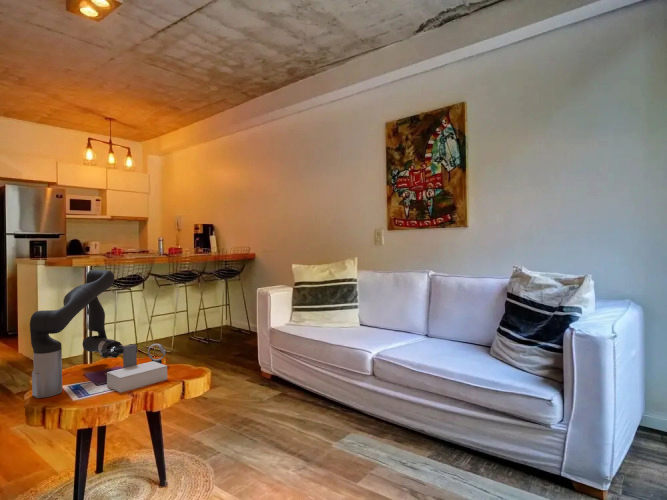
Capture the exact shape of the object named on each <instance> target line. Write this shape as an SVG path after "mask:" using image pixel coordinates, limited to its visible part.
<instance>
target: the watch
mask: <svg viewBox="0 0 667 500" xmlns="http://www.w3.org/2000/svg"><path fill="white" fill-rule="evenodd" d="M154 346H157V347H158V350H159V351H160V352H161V353H162V356H161V357H159V358H153V356H152V355H151V353H150V349H151V348H152V347H154ZM166 352H167V351H166V349H165V348H164V347H163V344H162V343H153V344H151V345H150V346H149V347H148V348H147V355H148V357H149V359H150V360H151V362H152V361H154V362H157V363H160V364H163V361H162V359H163V358H164V357H165V355H166Z"/></svg>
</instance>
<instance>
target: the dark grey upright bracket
mask: <svg viewBox="0 0 667 500" xmlns="http://www.w3.org/2000/svg"><path fill="white" fill-rule="evenodd" d="M136 346H137V344H132V345H130V344H128V345H123V354H122V357H123V358H122V361H123V363H122V365H123V368H127V367H131V366H135V365H138V364H137V362H138V361H137V359H138V358H137V353H136Z"/></svg>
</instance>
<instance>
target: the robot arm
mask: <svg viewBox="0 0 667 500" xmlns="http://www.w3.org/2000/svg"><path fill="white" fill-rule="evenodd" d="M85 279H86V280H85V283H84V284H81V285H78V286H76V287H74V288H73V289H71V290H70V291H69V292H67V293H66V294H65V296H64V298H63V301H62V302H63V306H62V307H61V308H59V309H55V310H53V309H52V310H51V309H50V310H37V311H34V312H33V314H32V315H31V317H30V319H29V333H30V334H29V335H30V344H31V347H32V352H33V353H32V354H33V355H32V357H33V358H32V359H33V370H32V371H31V381H32V382H31V387H32V389H31V391H32V392H31V393H32V396H33V397H34V398H36V399H42V398H50V397H54V396H57V395H59V394H61V393H62V392H63V362H62V361H63V359H62V357H63V353H62V352H63V351H62V350H63V349H62V348H63V347H62V342H61V341H59V340H57V339H54V338H52V337H51V336H50V335H53V334H54V335H55V334H59V333H61V332H62V331H64V329H66V327H67V326H68V325H69V324H70V322H71V321H72V320H73V319H74V318H75V317H76V316H77V315H78V314H79V313H80V312H81V311H82V310H83V309H85V308H86V307H87V306H88V323H87V329H88V331H90V332H97V335H90V336H87V337H85V338H84V339H83V340H82V347H83V349H84V351H86V352H89V353H91V352H92V353H99V354H100V355H99V356H100V357H102V358H103V359H107V358H108V357H109V358H114V359H117V358H118V357H119V356H120V355H123V346H124V345H123V344H122V342H120V341H118V340H114V339H110V338H108V337H107V334H106V333H107V332H106V328H105V324H106V323H105V321H106V312H105V309H104V307H103V306H102V303H101V301H100V299H99V297H98V296H100V295H101V294H102V293H104V292H105V291H107V290H109V289H110V288H111V287H112V286H113V284H114V282H115V274H114V272H113V271H111V270H108V269H90V270H89V271H88V272H87V274H86V278H85ZM129 345H133V344H131V343H130V344H129ZM136 354H138V346H137V345H136Z"/></svg>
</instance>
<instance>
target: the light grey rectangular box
mask: <svg viewBox="0 0 667 500" xmlns="http://www.w3.org/2000/svg"><path fill="white" fill-rule="evenodd" d="M166 380H168V365H166V364H163V363H162V364H160V363H157V362H154V361H152V360H151V361H149V362H144V363H139V364H137V365H135V366H131V367H127V368H120V369H115V370H111V371H107V372H106V384H107V385H106V387H107V388H109V389H112V390H114V391H116V392H118V393H124V392H128V391H132V390H135V389H139V388H143V387H147V386H149V385H153V384H156V383H159V382H165V381H166Z"/></svg>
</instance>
